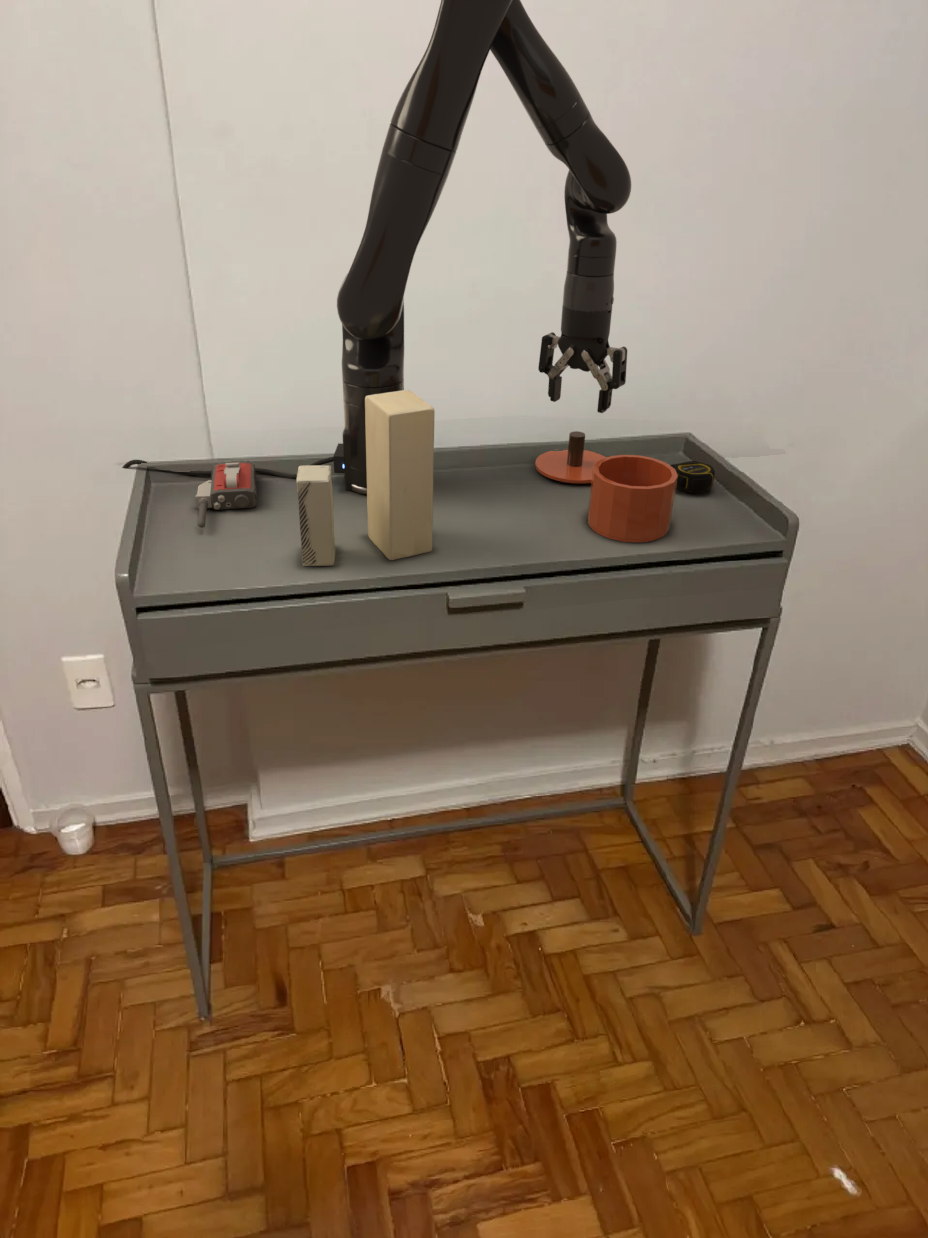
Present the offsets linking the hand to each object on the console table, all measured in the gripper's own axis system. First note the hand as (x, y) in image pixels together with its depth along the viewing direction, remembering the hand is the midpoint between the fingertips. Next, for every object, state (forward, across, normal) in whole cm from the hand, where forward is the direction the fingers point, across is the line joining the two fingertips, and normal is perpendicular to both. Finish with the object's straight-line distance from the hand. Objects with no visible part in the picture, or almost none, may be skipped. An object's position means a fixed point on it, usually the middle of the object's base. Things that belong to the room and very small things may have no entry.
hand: (578, 405), depth 150 cm
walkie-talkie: (+11, -36, -43) cm, 58 cm away
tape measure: (+11, +18, +5) cm, 22 cm away
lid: (+10, 0, 0) cm, 10 cm away
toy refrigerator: (+11, -7, -38) cm, 40 cm away
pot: (+11, +16, -13) cm, 23 cm away
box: (+11, -14, -48) cm, 51 cm away
